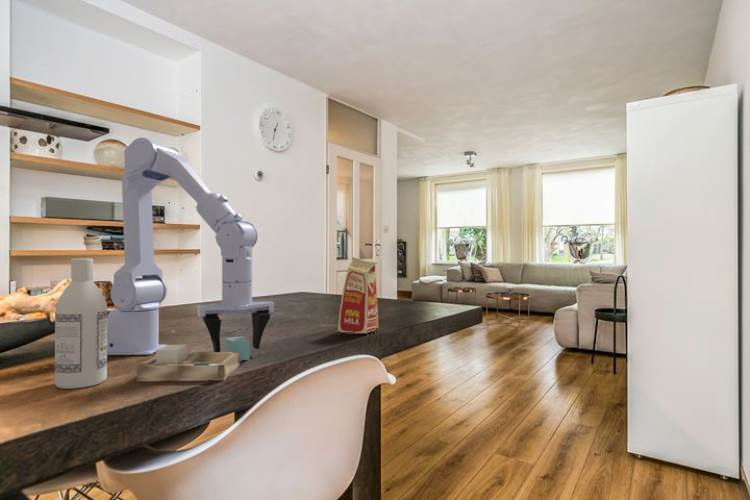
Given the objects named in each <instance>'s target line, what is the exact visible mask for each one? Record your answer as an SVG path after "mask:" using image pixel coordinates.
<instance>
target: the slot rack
mask: <svg viewBox="0 0 750 500" xmlns="http://www.w3.org/2000/svg"><path fill="white" fill-rule="evenodd" d="M239 367H240V361H239V352H226V351H220V352H214V351H212V352H211V351H205V352H204V351H200V352H199V351H197V352H196V351H195V352H192V351H190V352H188V351H187V360H186V361H184V362H183V363H181V364H170V362H168V363H156V355H155V356H154V357H151V358H150V359H148V360H145V361H144V362H141V363H139V364H138V365H137V366H136V382H194V381H196V382H197V381H201V382H203V381H205V382H206V381H208V380H213V381H226V380H227V378H229V376H230V375H232V373H233V372H235V371H236V370H237V368H239ZM208 382H209V381H208Z"/></svg>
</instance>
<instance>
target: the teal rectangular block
mask: <svg viewBox="0 0 750 500" xmlns="http://www.w3.org/2000/svg"><path fill="white" fill-rule="evenodd" d="M250 341H251V340H250V339H249V338H247V337H245V336H233V337H225V352H239V362H243V361H242V360H246V361H250V360H251V359H250V355H251V354H250V353H251V351H250V350H251V349H250V348H251V347H250V345H251V343H250Z"/></svg>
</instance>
